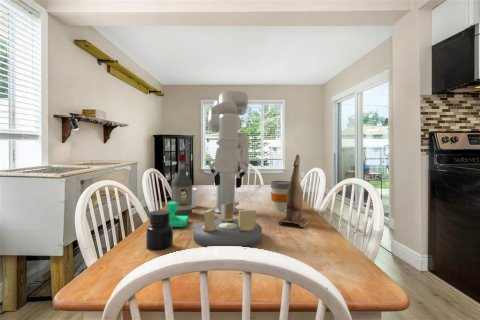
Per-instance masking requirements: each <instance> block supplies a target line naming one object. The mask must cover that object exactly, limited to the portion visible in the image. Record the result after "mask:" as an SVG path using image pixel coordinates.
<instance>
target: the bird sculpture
mask: <svg viewBox="0 0 480 320" xmlns="http://www.w3.org/2000/svg"><path fill="white" fill-rule="evenodd" d="M300 159H301V157H300V155H299V154H296V155H295V159H294V161H293V162H294V163H293V165H292V166H293V170H292V174H291V177H290V180H289V182H290V184H289V188H288V192H287V211H286V216H285V217H284V218H282V219H280V220H279V221H278V223H277V225H278V224H279V225H281V224H282V223H283V222H284V223H293V224H297V225H298V226H299V227H302V226H304V225H305V224H306V223H307V222H308V223H309V220H308V218H306V217H305V218H304V217H302V216H303V188H302V185H301V182H300V165H301V164H300V161H301V160H300ZM280 223H281V224H280Z"/></svg>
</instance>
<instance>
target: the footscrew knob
mask: <svg viewBox="0 0 480 320" xmlns="http://www.w3.org/2000/svg"><path fill="white" fill-rule="evenodd" d="M220 217H221V218H220V219H221V221H222V222H225V223H229V222H233V219H234V213H233V203H232V202H229V203H226V204H221V214H220Z"/></svg>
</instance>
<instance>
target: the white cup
mask: <svg viewBox="0 0 480 320" xmlns="http://www.w3.org/2000/svg"><path fill="white" fill-rule="evenodd" d="M197 199H198V189H197V188H195V187H192V209H193V208H197Z"/></svg>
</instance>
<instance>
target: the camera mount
mask: <svg viewBox="0 0 480 320" xmlns="http://www.w3.org/2000/svg"><path fill="white" fill-rule="evenodd" d="M166 211H169V212H170V222H169V224H170V225H171V226H172V227H173V228H174V227H175V228H177V227H178V228H179V227H180V228H182V227H186V226H187V225H188V221H189V215H185V216H175V212H176V211H177V202H172V201H168V203H167V208H166Z"/></svg>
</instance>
